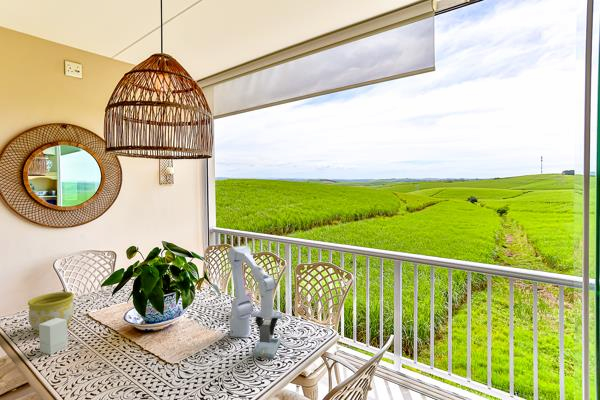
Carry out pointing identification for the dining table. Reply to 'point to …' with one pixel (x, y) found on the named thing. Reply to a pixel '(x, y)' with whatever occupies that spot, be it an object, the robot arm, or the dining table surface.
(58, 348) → the supplement box
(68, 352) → the dining table surface
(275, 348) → the pin tray
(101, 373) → the dining table surface
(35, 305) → the flowerpot
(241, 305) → the robot arm
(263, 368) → the dining table surface
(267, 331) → the block
